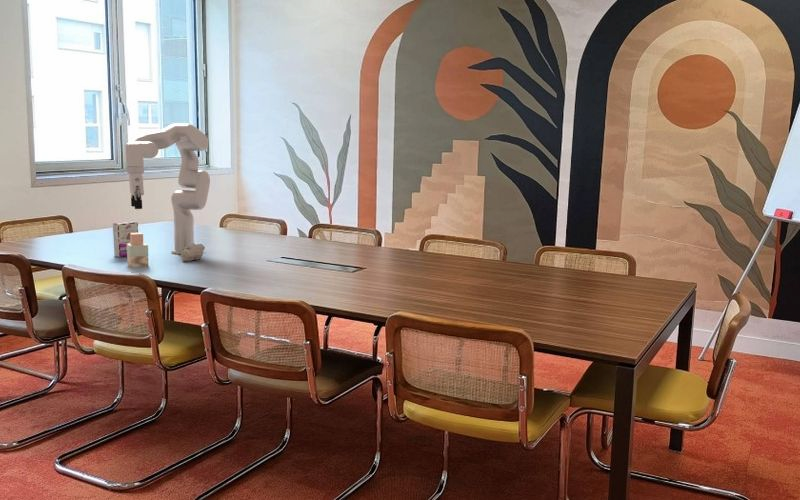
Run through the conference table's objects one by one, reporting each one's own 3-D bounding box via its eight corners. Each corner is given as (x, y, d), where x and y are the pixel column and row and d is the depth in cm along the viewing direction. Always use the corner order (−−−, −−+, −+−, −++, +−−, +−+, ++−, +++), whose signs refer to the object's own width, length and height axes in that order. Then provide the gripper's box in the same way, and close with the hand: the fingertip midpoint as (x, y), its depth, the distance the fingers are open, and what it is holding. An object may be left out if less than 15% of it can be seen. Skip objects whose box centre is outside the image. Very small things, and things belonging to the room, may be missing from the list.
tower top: (144, 253, 365) (144, 242, 364) (148, 255, 358) (148, 245, 357) (126, 254, 361) (126, 243, 360) (130, 257, 354) (129, 246, 353)
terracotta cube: (141, 243, 362) (141, 232, 361) (143, 244, 358) (143, 233, 357) (130, 243, 360) (130, 232, 359) (131, 245, 356) (131, 234, 355)
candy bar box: (133, 253, 391) (132, 221, 388) (139, 254, 388) (138, 221, 385) (113, 256, 382) (112, 223, 379) (119, 257, 379) (118, 224, 376)
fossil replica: (175, 261, 373) (194, 265, 370) (175, 245, 371) (194, 248, 368) (189, 255, 384) (207, 259, 381) (189, 239, 382) (208, 242, 379)
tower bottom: (145, 263, 366) (145, 253, 365) (148, 266, 359) (148, 255, 358) (127, 264, 362) (127, 254, 361) (130, 267, 355) (129, 256, 354)
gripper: (147, 171, 349) (148, 209, 352) (140, 168, 364) (142, 205, 367) (129, 171, 346) (131, 210, 349) (123, 168, 361) (125, 205, 364)
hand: (136, 207), depth 358 cm, fingers open, 9 cm apart
